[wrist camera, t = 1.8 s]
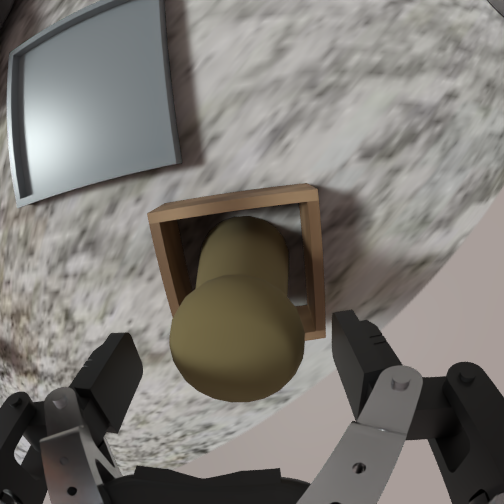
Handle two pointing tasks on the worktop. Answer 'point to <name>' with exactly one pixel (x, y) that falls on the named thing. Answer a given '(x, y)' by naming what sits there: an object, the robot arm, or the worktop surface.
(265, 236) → the cork
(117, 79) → the tray
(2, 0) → the casserole
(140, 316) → the worktop surface
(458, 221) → the worktop surface
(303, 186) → the holder
